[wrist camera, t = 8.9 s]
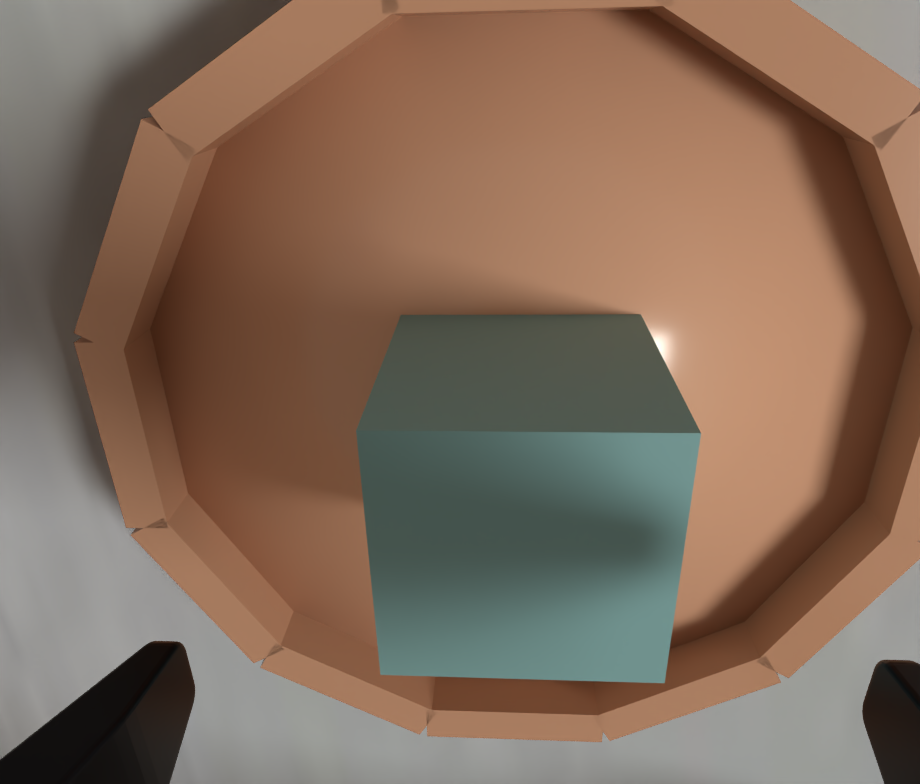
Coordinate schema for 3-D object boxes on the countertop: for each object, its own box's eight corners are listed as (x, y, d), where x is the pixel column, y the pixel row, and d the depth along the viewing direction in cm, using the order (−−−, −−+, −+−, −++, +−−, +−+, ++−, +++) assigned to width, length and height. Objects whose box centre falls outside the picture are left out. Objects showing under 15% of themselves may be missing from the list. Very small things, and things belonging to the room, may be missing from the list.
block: (640, 314, 15) (700, 433, 10) (621, 513, 17) (664, 683, 12) (400, 314, 15) (355, 429, 10) (412, 510, 17) (380, 674, 13)
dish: (1052, -67, 12) (1149, -87, 10) (832, 687, 20) (864, 750, 18) (38, -33, 13) (-36, -46, 11) (210, 669, 21) (182, 727, 19)
